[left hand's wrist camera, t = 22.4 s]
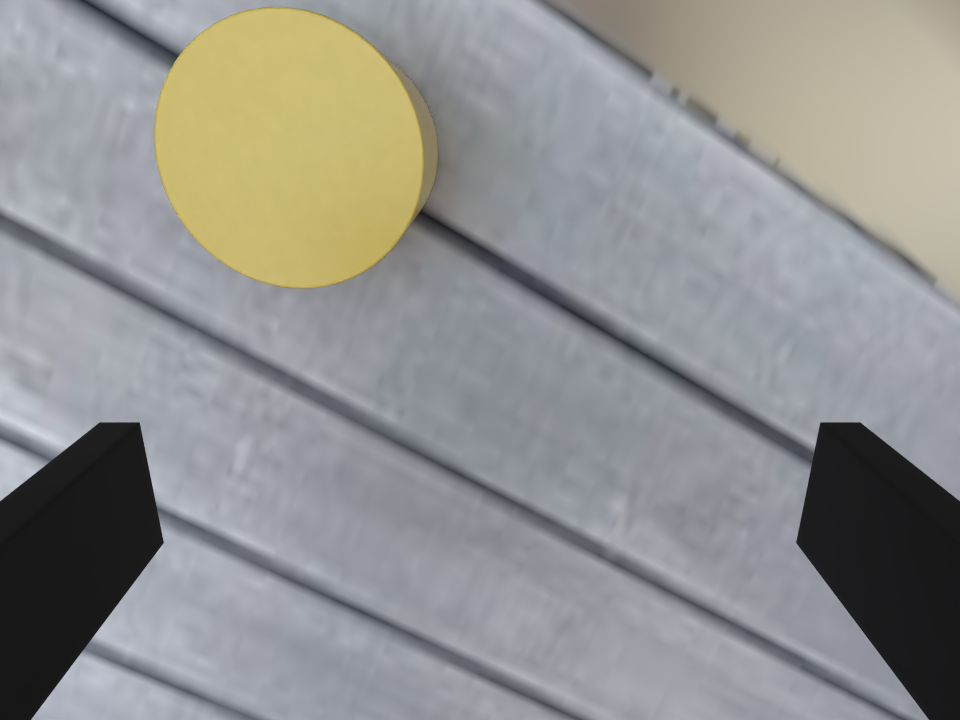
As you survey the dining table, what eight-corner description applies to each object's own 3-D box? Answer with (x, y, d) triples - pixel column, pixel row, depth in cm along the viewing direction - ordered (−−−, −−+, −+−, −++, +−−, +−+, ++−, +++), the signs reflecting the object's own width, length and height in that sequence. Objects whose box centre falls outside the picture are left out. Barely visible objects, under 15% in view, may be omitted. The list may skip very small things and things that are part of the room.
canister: (204, 103, 28) (97, 90, 20) (379, 5, 27) (339, -50, 19) (307, 279, 31) (248, 330, 23) (471, 196, 30) (469, 219, 22)
